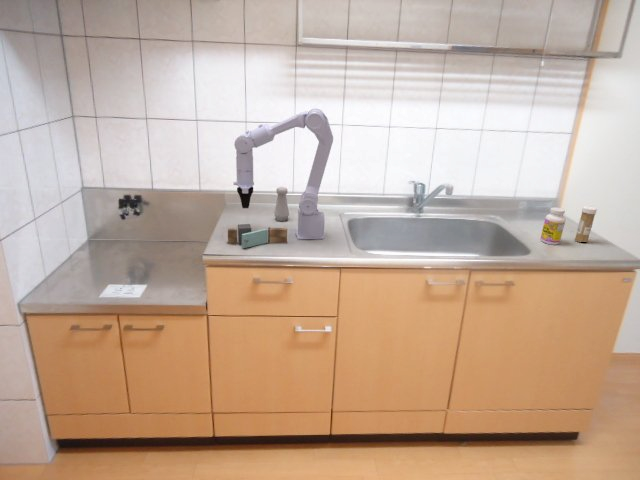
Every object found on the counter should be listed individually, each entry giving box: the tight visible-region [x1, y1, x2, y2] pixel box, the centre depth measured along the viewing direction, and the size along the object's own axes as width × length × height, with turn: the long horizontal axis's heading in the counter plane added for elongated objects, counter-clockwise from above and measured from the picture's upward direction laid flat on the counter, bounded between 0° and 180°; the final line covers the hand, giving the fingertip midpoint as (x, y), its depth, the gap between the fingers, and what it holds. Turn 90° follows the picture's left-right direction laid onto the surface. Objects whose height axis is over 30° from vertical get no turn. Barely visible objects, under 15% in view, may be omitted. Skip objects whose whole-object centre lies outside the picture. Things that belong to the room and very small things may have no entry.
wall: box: [227, 226, 288, 245], centre depth 154 cm, size 20×2×5 cm, turn 99°
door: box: [241, 228, 268, 249], centre depth 151 cm, size 10×2×5 cm, turn 130°
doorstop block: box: [237, 223, 252, 246], centre depth 154 cm, size 4×4×6 cm
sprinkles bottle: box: [574, 205, 598, 243], centre depth 168 cm, size 5×5×13 cm
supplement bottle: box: [540, 207, 566, 246], centre depth 166 cm, size 7×7×13 cm
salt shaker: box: [273, 186, 290, 222], centre depth 176 cm, size 6×6×13 cm
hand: (245, 207), depth 160 cm, fingers closed
